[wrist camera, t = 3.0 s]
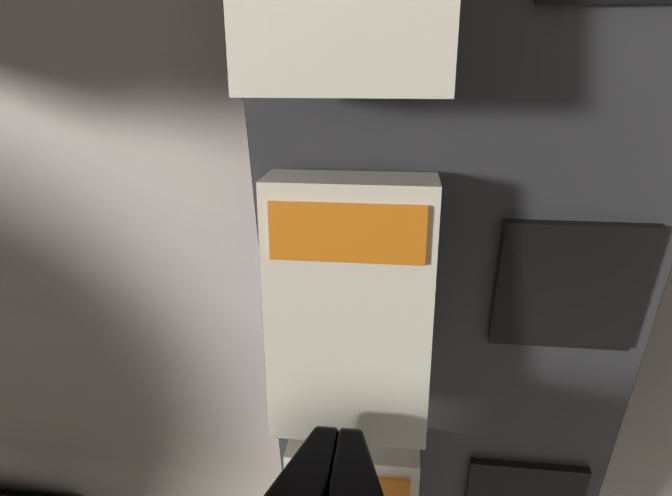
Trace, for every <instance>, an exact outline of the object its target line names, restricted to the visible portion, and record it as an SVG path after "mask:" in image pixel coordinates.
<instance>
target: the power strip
mask: <svg viewBox="0 0 672 496" xmlns="http://www.w3.org/2000/svg"><path fill="white" fill-rule="evenodd" d="M244 107H245V117H246V126H247V136H248V146H249V155H250V165H251V175H252V185H253V194H254V204H255V214H256V223H257V233H258V214H257V194H256V182H257V181H258V180H259V179H261V178H262V177H263V176H265V175H266V174H267V173H268V172H270V171H271V170H272V169H301V170H347V171H393V172H438V175H439V178H440V182H441V185H442V195H441V211H440V227H439V243H438V259H437V275H436V291H435V307H434V323H433V338H432V354H431V370H430V386H429V402H428V418H427V434H426V450H421V449H420V483H419V496H598V495H599V492H600V489H601V486H602V483H603V479H604V476H605V473H606V470H607V467H608V464H609V461H610V457H611V454H612V451H613V448H614V445H615V442H616V439H617V436H618V432H619V429H620V426H621V423H622V420H623V417H624V414H625V410H626V407H627V404H628V401H629V398H630V395H631V392H632V389H633V385H634V382H635V379H636V376H637V373H638V370H639V367H640V363H641V360H642V357H643V354H644V351H645V348H646V345H647V342H648V338H649V335H650V332H651V329H652V326H653V323H654V320H655V316H656V313H657V310H658V307H659V304H660V301H661V298H662V295H663V291H664V288H665V285H666V282H667V279H668V276H669V273H670V269H671V266H672V0H461V3H460V18H459V33H458V48H457V63H456V78H455V93H454V99H373V98H244ZM258 243H259V234H258ZM288 441H289V439H284V438H279V446H280V456H281V465H282V470H283V469H284V461H283V457H284V453H285V450H286V447H287V444H288Z"/></svg>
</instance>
